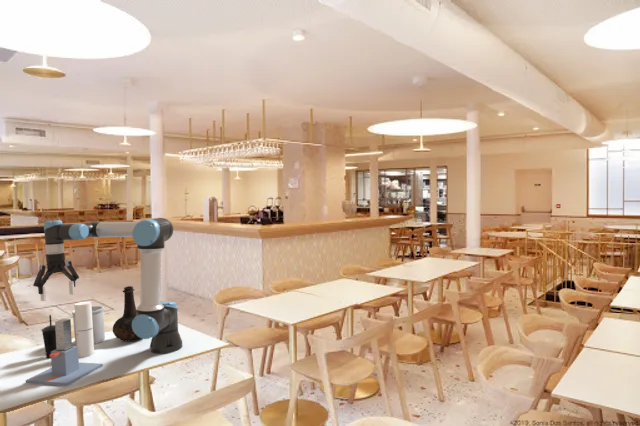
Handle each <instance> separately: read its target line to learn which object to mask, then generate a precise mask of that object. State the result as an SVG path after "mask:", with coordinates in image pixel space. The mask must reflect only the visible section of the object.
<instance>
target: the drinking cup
mask: <svg viewBox="0 0 640 426" xmlns="http://www.w3.org/2000/svg"><path fill="white" fill-rule="evenodd" d="M48 317H49V325H47V326H44V328H43V327H42V329H40V330H41V332H42V337H43V338H42V339H43V344H44V352H45V356H46V357H45V358H46V359H51V357H50V354H51V351H53V350H56V349H57V347H56V330H55V324H52V314H49V315H48Z"/></svg>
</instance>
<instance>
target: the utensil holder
mask: <svg viewBox="0 0 640 426" xmlns="http://www.w3.org/2000/svg"><path fill="white" fill-rule="evenodd" d="M104 313H105V307H104V306H103V305H92V323H93V341H94V345H97V344H101V343H102V342H104V341H105V340H106V336H105V335H106V334H105V333H106V331H105V330H106V327H105V326H106V325H105V314H104ZM71 315H72V321H73V332H74V342H75V346H77V343H76V324H75V309H73V310H72V311H71Z"/></svg>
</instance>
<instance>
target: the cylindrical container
mask: <svg viewBox="0 0 640 426" xmlns="http://www.w3.org/2000/svg"><path fill="white" fill-rule="evenodd" d="M73 306H74V310H75V324H76V343H77V345H76V346H78V358H87V357H91V356H93V355H94V354H95V347H94V346H95V344H94V341H93V323H92V306H93V305H92V301H89V300H88V301H87V300H86V301H79V302H77V303H76V302H75V303H74V305H73ZM76 343H75V344H76Z"/></svg>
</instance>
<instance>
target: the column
mask: <svg viewBox="0 0 640 426" xmlns="http://www.w3.org/2000/svg"><path fill="white" fill-rule="evenodd" d="M71 323H72V322H71V319H70V318H60V319H59V320H58V319H57V320H55V321H54V325H55V330H56V347H57V351H67V350H69V349H71V348H72V346H73V342H72V341H73V340H72V339H73V338H72V337H73V336H72V324H71Z"/></svg>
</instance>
